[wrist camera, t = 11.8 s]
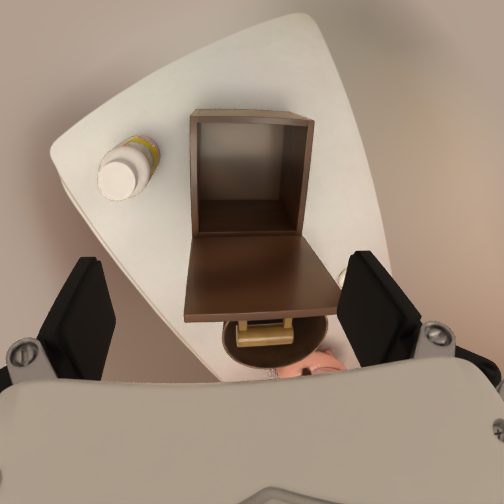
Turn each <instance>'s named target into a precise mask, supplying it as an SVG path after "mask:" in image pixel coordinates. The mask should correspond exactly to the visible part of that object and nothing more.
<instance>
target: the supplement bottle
mask: <svg viewBox="0 0 504 504" xmlns="http://www.w3.org/2000/svg"><path fill="white" fill-rule="evenodd" d="M159 157H160V156H159V150H158V148H157V146H156V144H155V143H154V142H153V141H152V140H151V139H149V138H147V137H145V136H132V137H130V138H128V139H126V140H125V141H123V142H122V143H120V144H119V145H118V146H116V147H115V148H113V149H112V150H111V151H109V152H108V153H107V154H106V155H105V156H104V157H103V159H102V161H101V163H100V166H99V174H98V177H97V184H98V188H99V190H100V192H101V193H102V194H103V195H104V196H105V197H106V198H108V199H110V200H113V201H122V200H124V199H126V198H131V197H134V196H136V195H138V194H139V193H140V192H142V191H143V189H144V188H145V187H146V185H147V183H148V182H149V180H150V178H151V176H152V175H153V173H154V171H155V170H156V168H157V166H158V163H159Z"/></svg>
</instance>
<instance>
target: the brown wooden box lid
mask: <svg viewBox="0 0 504 504" xmlns="http://www.w3.org/2000/svg"><path fill="white" fill-rule="evenodd" d="M340 294H341V289H340V288H339V286H338V285H337V283H336V282H335V280H334V279H333V278H332V276H331V275H330V273H329V272H328V270H327V269H326V268H325V266H324V265H323V263H322V262H321V260H320V259H319V258H318V256H317V255H316V253H315V252H314V251H313V249H312V248H311V246H310V245H309V244H308V242H307V241H306V240H305V238H304V237H303V236H247V237H195V238H192V243H191V251H190V259H189V268H188V277H187V286H186V296H185V306H184V322H185V323H188V322H226V321H238V325H237V326H236V341H237V347H251V346H267V345H280V344H291V343H292V342H293V337H294V333H293V327H292V318H299V317H312V316H323V315H334V314H337V306H338V302H339V298H340ZM269 319H283V323H272V324H255V325H247V321H250V320H269Z"/></svg>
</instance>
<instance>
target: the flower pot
mask: <svg viewBox="0 0 504 504" xmlns="http://www.w3.org/2000/svg"><path fill="white" fill-rule="evenodd" d="M272 323H283V319H269V320H250V321H247V325H255V324H272ZM237 325H238V321H226V322H224V324H223V332H222V343H223V347H224V349H225V351H226V352H227V354H228V355H229V356H230V357H231V358H232V359H233V360H235V361H236V362H238V363H239V364H242V365H244V366H247V367H250V368H255V369H277V368H283V367H287V366H290V365H293V364H295V363H298V362H300V361H302V360H303V359H305V358H307V357H308V356H310V355H311V354H312V353H313V352H314V351H315V350H316V349H317V348H318V347H319V346H320V345H321V343H322V342H323V340H324V338H325V337H326V334H327V330H328V319H327V315H323V316H312V317H299V318H292V327H293V333H294V337H293V342H292V343H291V344H280V345H267V346H251V347H237V341H236V326H237Z"/></svg>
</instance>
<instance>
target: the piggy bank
mask: <svg viewBox="0 0 504 504" xmlns="http://www.w3.org/2000/svg"><path fill="white" fill-rule="evenodd" d="M343 370H347V369H346V367H345V366H344V365H343V364H342V363H341V362H340V361H339V360H338V359H337V358H335V357H334V354H333V351H332V350H326V351H324V352H319V351H314V352H313V353H312V354H311V355H310V356H308V357H307V358H305V359H303V360H302V361H300V362H298V363H295V364H293V365H290V366H287V367H283V368H277V369H276V371H277V372H278V377H277V379H279V378H289V377H298V376H307V375H315V374H323V373H330V372H337V371H343Z"/></svg>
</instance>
